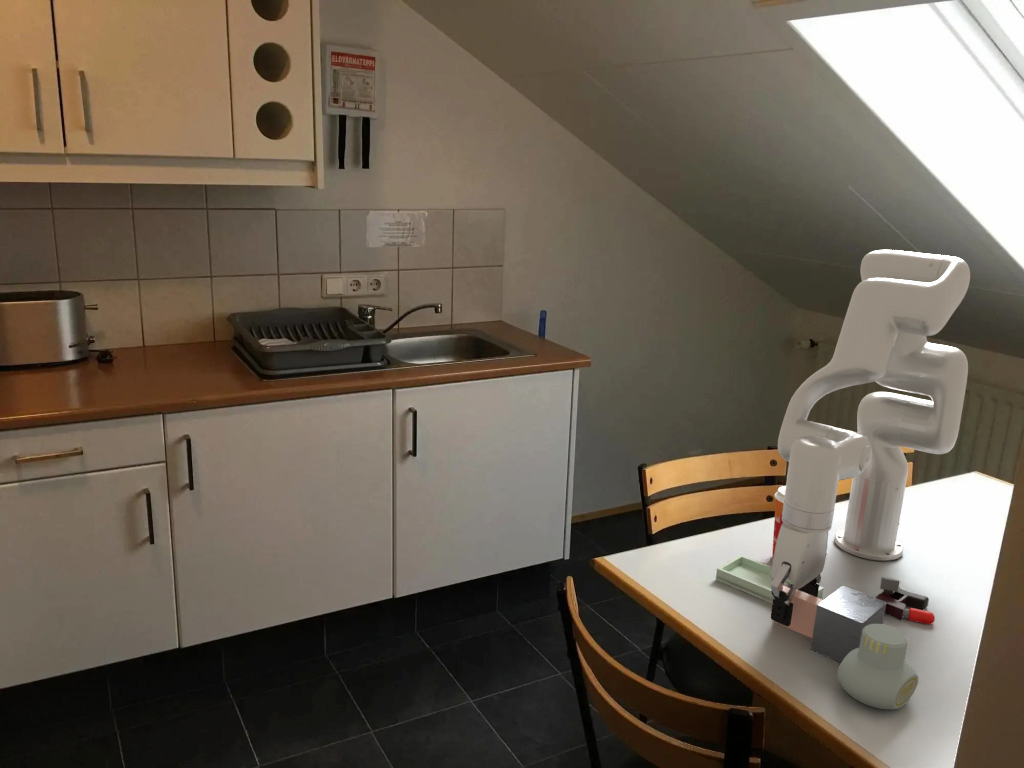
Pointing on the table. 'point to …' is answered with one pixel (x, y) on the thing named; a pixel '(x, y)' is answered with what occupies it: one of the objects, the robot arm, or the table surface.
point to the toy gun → (904, 602)
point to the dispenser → (844, 622)
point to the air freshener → (879, 669)
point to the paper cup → (778, 514)
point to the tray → (750, 577)
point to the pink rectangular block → (803, 612)
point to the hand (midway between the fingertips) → (793, 612)
